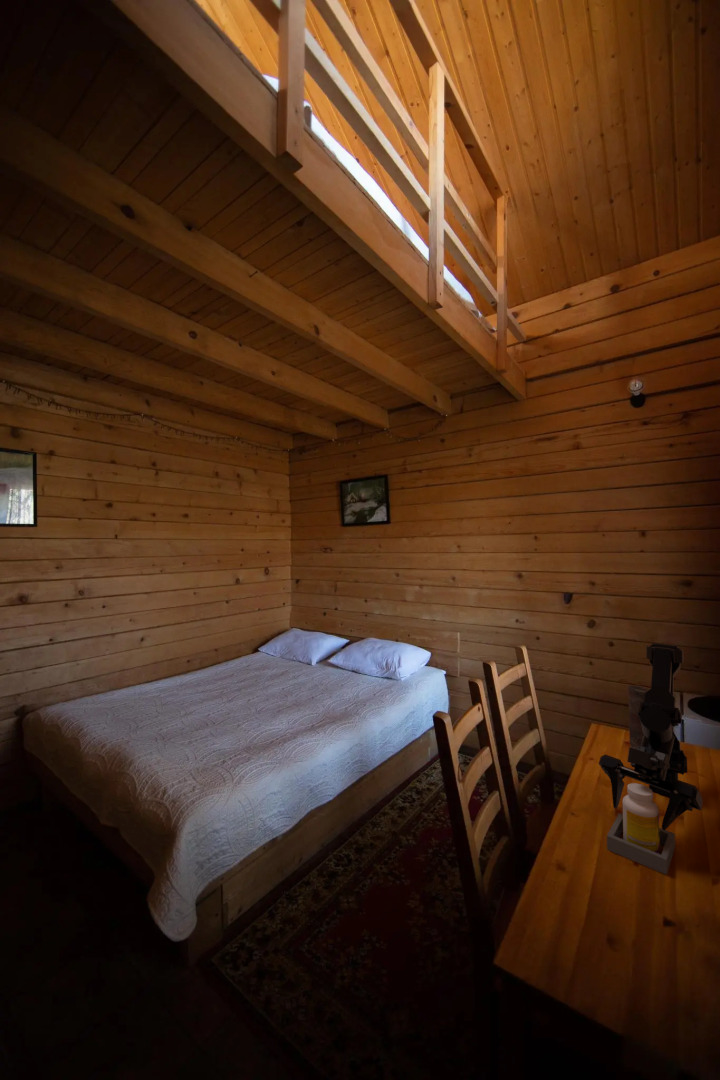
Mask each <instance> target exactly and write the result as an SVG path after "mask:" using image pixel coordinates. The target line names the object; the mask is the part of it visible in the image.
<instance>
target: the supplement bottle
mask: <svg viewBox="0 0 720 1080" xmlns="http://www.w3.org/2000/svg"><path fill="white" fill-rule="evenodd" d="M626 792H627V794H626V795H625V796H623V798H622V814H623V832H622V839H623V840H626V841H628V842H631V843H633V844H636V845H638V846H641V847H643V848H646V849H648V850H651V851H653V852H656V853H658V854H660V852H661V847H660V846H661V844H660V839H659V828H660V812H659V811H660V810H659V806H658V805H657V803H655V802H654V801H653V800H654V791H652V790H651V789H650V788H649V786H646V785H643V784H641V783H636V782H632V783H629V784H627V790H626Z"/></svg>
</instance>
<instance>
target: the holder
mask: <svg viewBox="0 0 720 1080" xmlns="http://www.w3.org/2000/svg"><path fill="white" fill-rule="evenodd" d="M622 835H623V813H620V812H619V813H618V814H617V816H616V818H615V819H614V821H613V824H612V825H611V828H610V829H609V831H608V832H607V835H606V849H607V851H610V852H612V853H614V854H616V855H618V856H621V857H623V858H626V859H628V860H629V861H630V860H631V861H633V862H635V863H638V864H640V865H642V866H645V867H646V868H649V869H652V870H654V871H656V872H658V873H661V874H663V875H665V876H667V875H668V872H669V869H670V866H671V863H672V859H673V856H674V852H675V849H676V834H675V833H674V832H671V831H668V830H667V829H666V830H663V829H662V827H659V839H660V846H663V848H662V852H661V854H660V853H659V854H658V853H656V852H653V851H651V850H648V849H646V848H643V847H641V846H638V845H636V844H633V843H631V842H628V841H626V840H623V838H622V837H621V836H622ZM620 837H621V838H620Z"/></svg>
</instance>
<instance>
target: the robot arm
mask: <svg viewBox="0 0 720 1080" xmlns="http://www.w3.org/2000/svg"><path fill="white" fill-rule="evenodd" d="M645 649H646V650H645V651H646V654H645V655H646V658H645V659H647V660H649V664H650V666H651V668H652V670H651V685H650V688H649V690H648V691H646V692H645V694H644V702H642V701H641V703H640V707H639V711H638V716H639V718H640V721H641V726H642V731H643V734H644V736H643V739H642V743H641V745H639V746H638V749H634V748H631V746H629V747H628V753H627V762H628V763H630V766H631V767H632V768H630V767H627V766H625V765H624V764H623V761H621V759H619V758H617V757H614V756H611V755H608V754H603V755H601V756H600V758H599V762H598V765H599V767H600V768H601V770H602V771H603V772H604V774H606V775H607V776H608V778H609V780H610V783H611V784H610V785H611V793H612V794H611V795H612V807H613V808H614V809H615V810H617V809H618V807H619V805H620V802H621V798H622V793H623V790H624V787H625V781H624V779H625V777H628V778H630V779H633V780H635V781H638V782H639V783H640V782H641V783H644V784H646V785H649V786H648V788H650V789H651V790H652V791H653V793H657V794H660V795H663V796H666V797H669V801H668V804H667V807H666V810H665V813H664V815H663V818H662V822H661V829H663V830H667V829H668V828H669V827H670V826H671V825H672V824H673V823H674V822H675V820H676V819H677V818H678V817H680V816H681V815H683V814H684V813H685V812H686V811H690V812H693V811H694V810H698V811H701V810H702V808H703V803H704V802H703V797H702V795H701V793H700V791H699V789H698V787H697V786H696V785H694V784H691V783H687V782H685V781H682V780H679V774H680V775H682V776H683V775H685V774H687V773H688V757H687V755H686V754H685V753H684V752H685V751H684V750H681V742H680V741H679V738H678V737H677V736H676V734H675V732H674V727H678V726H679V724H680V725H682V720H683V713H682V712H681V710H680V708H679V707H676V706H677V705H676V698H675V695H674V694H675V693H674V690H675V689H674V688H675V687H674V685H675V684H674V683H675V682H674V680H675V679H674V678H675V677H676V675H677V674H678V673H679V672H680V671H681V664H684V650H683V649H680V648H679V645H678V644H677V645H676V644H669V643H659V642H652V643H651V644H650V645H646V648H645Z"/></svg>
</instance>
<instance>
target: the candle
mask: <svg viewBox="0 0 720 1080" xmlns="http://www.w3.org/2000/svg"><path fill="white" fill-rule="evenodd" d="M627 689H628V690H627V691H628V692H627V694H628V697H627V698H628V722H629V723H628V725H629V727H628V728H629V729H628V730H629V731H628V732H629V734H628V736H629V745H630V746H629V747H631V748H634V749H638V746H639V745H641V743H642V739H643V736H644V734H643V731H642V726H641V721H640V718H639V716H638V711H639V707H640V703H641V701H642V702H644V694H645V692H646V691H648V690H649V689H650V688H649V687H645V686H641V685H631V684H630V685H628V686H627Z"/></svg>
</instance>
